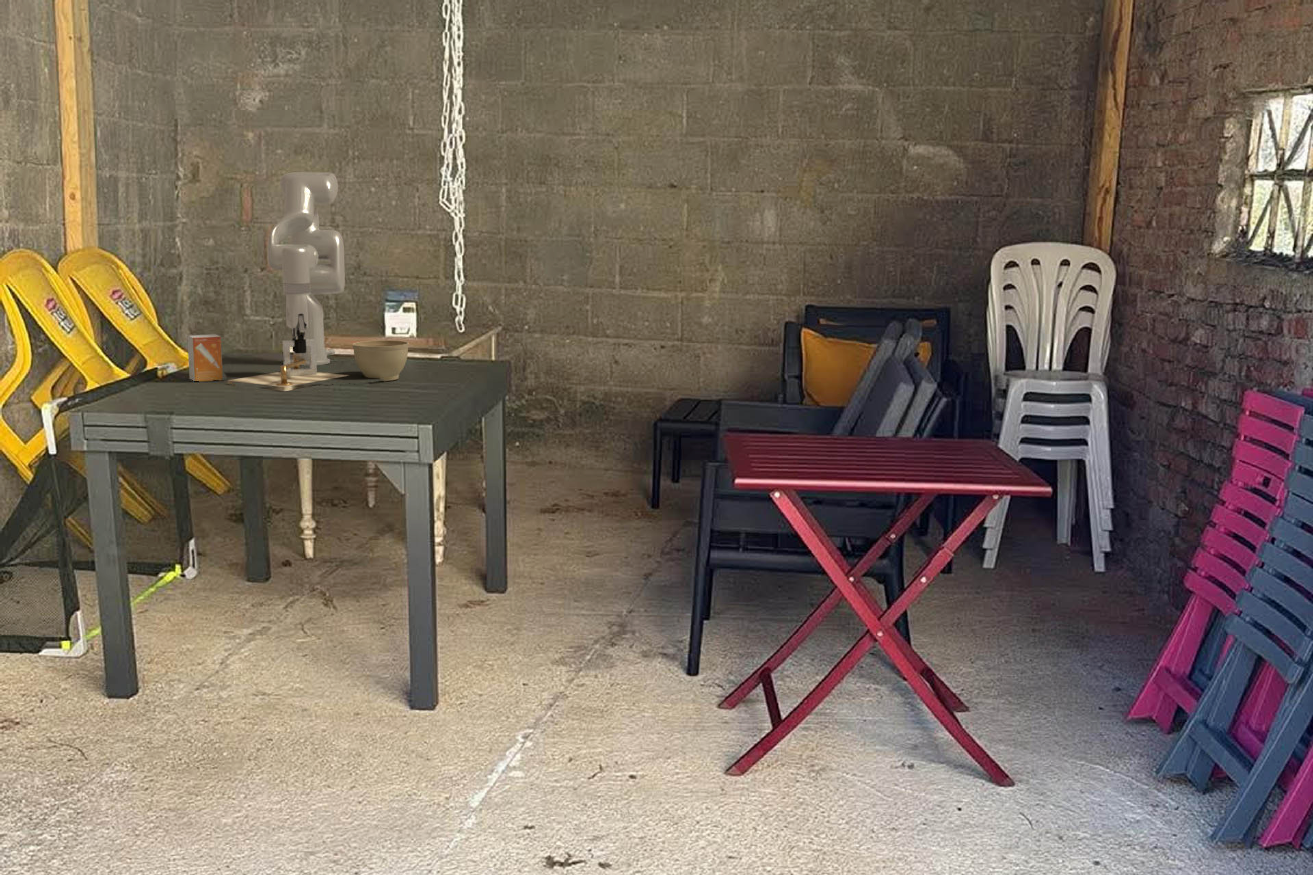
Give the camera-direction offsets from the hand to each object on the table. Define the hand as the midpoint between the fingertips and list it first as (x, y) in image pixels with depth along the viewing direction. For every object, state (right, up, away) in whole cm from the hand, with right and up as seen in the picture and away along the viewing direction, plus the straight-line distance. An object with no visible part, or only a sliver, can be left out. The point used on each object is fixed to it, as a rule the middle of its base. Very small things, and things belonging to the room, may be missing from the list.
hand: (299, 351), depth 375 cm
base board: (-2, -9, -5) cm, 10 cm away
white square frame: (0, -7, +1) cm, 7 cm away
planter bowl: (+24, -8, +2) cm, 25 cm away
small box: (-27, -9, -2) cm, 28 cm away
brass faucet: (-1, -8, -5) cm, 10 cm away
